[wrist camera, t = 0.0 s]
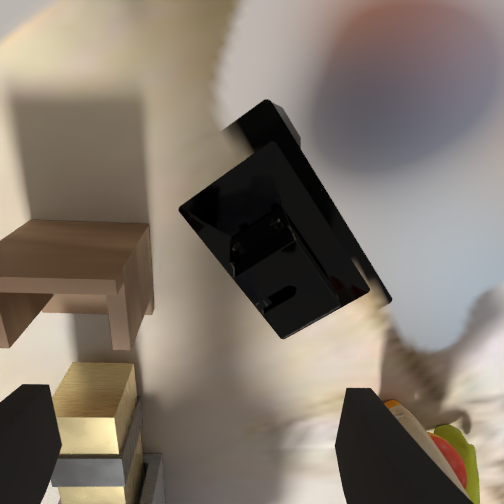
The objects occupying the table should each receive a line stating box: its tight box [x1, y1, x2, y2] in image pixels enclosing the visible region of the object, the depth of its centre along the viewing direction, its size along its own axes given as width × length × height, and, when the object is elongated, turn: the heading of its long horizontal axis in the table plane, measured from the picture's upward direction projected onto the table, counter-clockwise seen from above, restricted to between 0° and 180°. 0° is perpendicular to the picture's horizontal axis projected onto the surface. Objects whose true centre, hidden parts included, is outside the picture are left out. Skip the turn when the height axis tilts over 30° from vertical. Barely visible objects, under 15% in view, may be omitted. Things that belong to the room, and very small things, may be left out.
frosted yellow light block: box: [51, 362, 145, 504], centre depth 21 cm, size 14×4×4 cm, turn 177°
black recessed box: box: [179, 99, 392, 339], centre depth 17 cm, size 12×7×5 cm, turn 34°
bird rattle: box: [384, 400, 480, 504], centre depth 20 cm, size 6×11×9 cm
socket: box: [0, 220, 154, 350], centre depth 16 cm, size 5×5×6 cm
